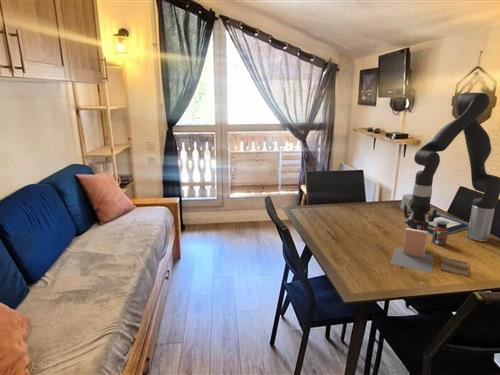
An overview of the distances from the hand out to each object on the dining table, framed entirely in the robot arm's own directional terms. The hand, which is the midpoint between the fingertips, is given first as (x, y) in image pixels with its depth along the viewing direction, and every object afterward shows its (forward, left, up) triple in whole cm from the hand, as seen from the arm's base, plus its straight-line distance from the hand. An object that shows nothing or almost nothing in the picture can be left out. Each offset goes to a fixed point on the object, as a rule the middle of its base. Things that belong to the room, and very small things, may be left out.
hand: (417, 227), depth 156 cm
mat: (+14, 0, -10) cm, 17 cm away
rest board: (+13, +16, -10) cm, 23 cm away
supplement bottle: (-10, +10, -11) cm, 18 cm away
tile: (+9, 0, -10) cm, 13 cm away
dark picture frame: (-37, +9, -11) cm, 40 cm away
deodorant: (0, 0, -5) cm, 5 cm away
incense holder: (-55, -6, -11) cm, 56 cm away
